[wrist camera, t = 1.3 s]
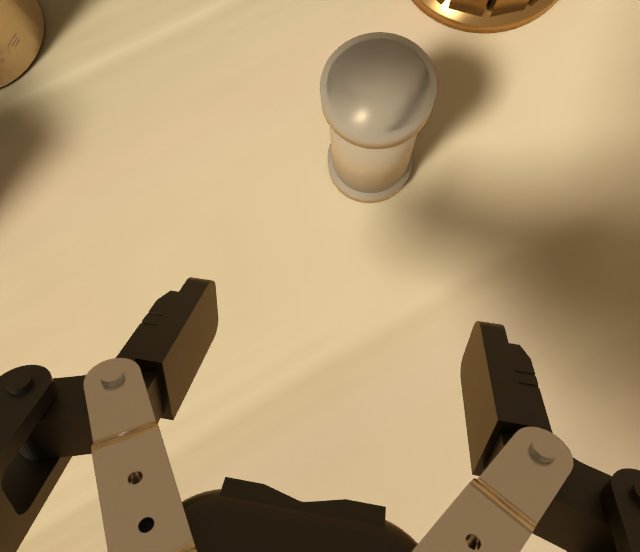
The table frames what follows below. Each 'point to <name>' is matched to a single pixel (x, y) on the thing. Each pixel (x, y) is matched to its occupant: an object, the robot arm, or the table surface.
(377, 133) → the grey flanged cylinder
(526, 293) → the table surface
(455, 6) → the bronze ring
